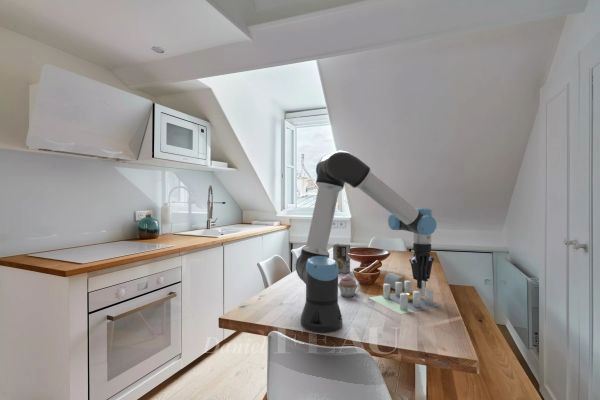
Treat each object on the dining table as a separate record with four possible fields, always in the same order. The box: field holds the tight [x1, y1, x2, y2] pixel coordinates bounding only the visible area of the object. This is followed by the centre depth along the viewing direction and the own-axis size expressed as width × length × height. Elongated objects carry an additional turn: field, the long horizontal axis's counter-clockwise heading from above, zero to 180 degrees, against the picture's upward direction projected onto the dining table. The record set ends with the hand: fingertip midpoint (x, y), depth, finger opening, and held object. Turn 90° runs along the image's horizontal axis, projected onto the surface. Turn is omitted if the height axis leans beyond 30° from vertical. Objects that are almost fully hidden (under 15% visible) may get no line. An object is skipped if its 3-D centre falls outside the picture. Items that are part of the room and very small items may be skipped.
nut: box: [405, 291, 413, 302], centre depth 131 cm, size 5×5×3 cm
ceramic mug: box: [383, 272, 406, 291], centre depth 150 cm, size 11×8×8 cm
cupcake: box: [338, 273, 359, 298], centre depth 140 cm, size 9×9×10 cm
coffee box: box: [332, 243, 351, 274], centre depth 183 cm, size 9×6×16 cm
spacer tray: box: [368, 280, 441, 315], centre depth 129 cm, size 22×20×7 cm
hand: (421, 295), depth 134 cm, fingers closed
